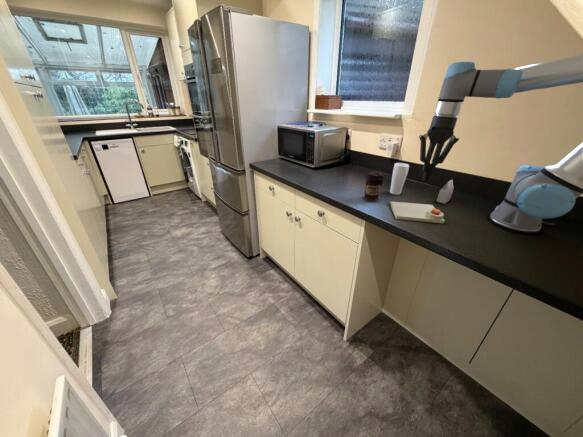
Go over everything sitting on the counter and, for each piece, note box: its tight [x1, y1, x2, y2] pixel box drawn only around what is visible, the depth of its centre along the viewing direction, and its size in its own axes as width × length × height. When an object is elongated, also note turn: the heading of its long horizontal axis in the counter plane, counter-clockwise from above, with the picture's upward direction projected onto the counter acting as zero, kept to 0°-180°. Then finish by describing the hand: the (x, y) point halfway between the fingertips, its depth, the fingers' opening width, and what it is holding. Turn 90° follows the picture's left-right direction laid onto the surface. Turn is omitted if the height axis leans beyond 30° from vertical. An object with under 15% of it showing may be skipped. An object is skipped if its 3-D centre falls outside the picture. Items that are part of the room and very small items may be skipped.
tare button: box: [431, 208, 441, 215], centre depth 93 cm, size 3×3×2 cm
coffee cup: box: [363, 171, 386, 203], centre depth 109 cm, size 9×8×13 cm
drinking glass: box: [389, 162, 410, 196], centre depth 116 cm, size 7×7×15 cm
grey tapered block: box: [436, 179, 454, 204], centre depth 109 cm, size 4×7×10 cm, turn 131°
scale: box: [389, 201, 446, 224], centre depth 99 cm, size 18×15×3 cm
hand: (424, 180), depth 92 cm, fingers closed
